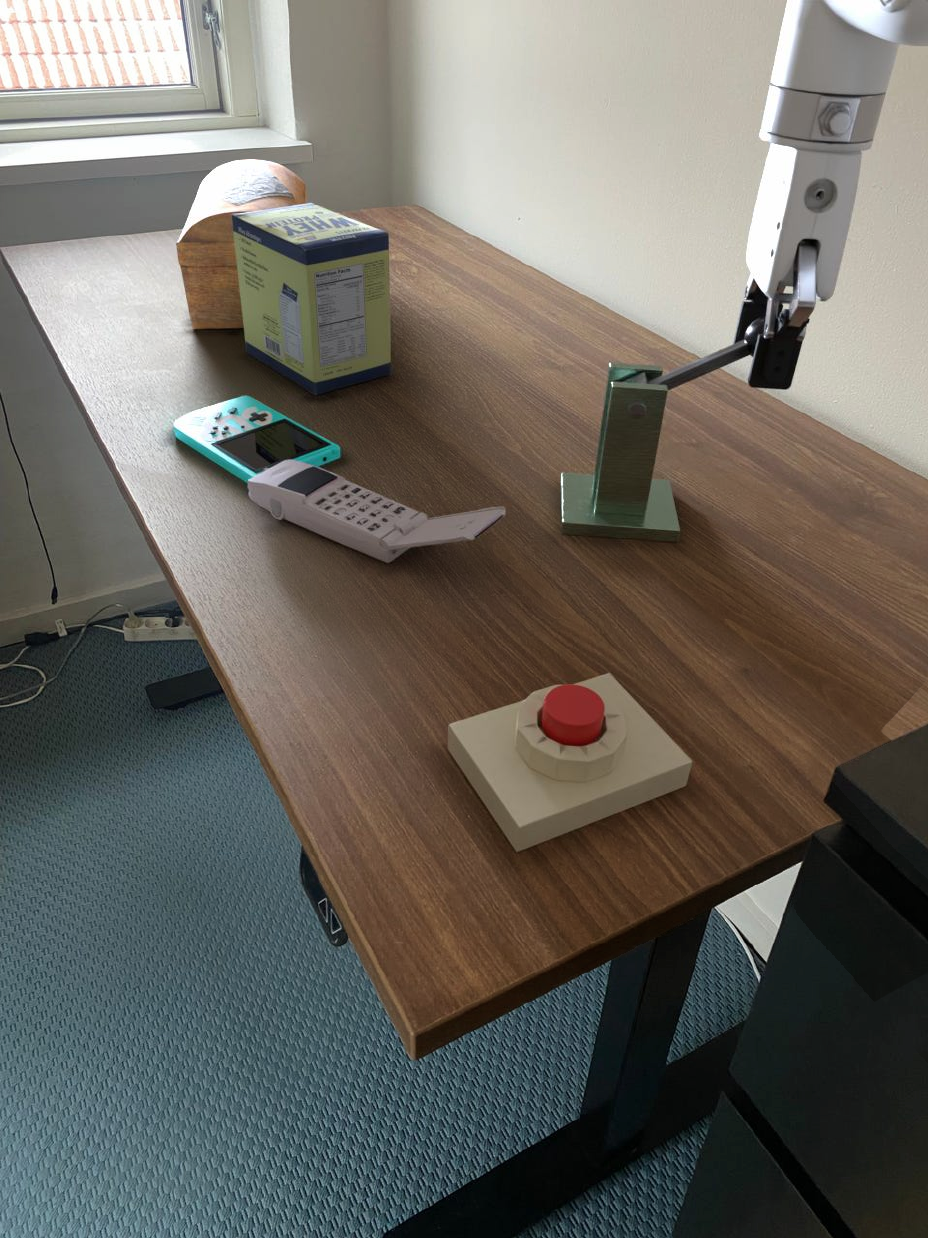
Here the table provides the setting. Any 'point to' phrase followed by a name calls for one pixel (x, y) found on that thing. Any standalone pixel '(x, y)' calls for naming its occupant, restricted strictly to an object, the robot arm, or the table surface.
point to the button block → (565, 765)
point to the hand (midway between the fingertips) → (760, 366)
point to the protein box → (314, 295)
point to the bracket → (624, 467)
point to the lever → (709, 360)
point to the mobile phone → (358, 512)
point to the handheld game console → (251, 437)
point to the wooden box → (227, 235)
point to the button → (572, 715)
